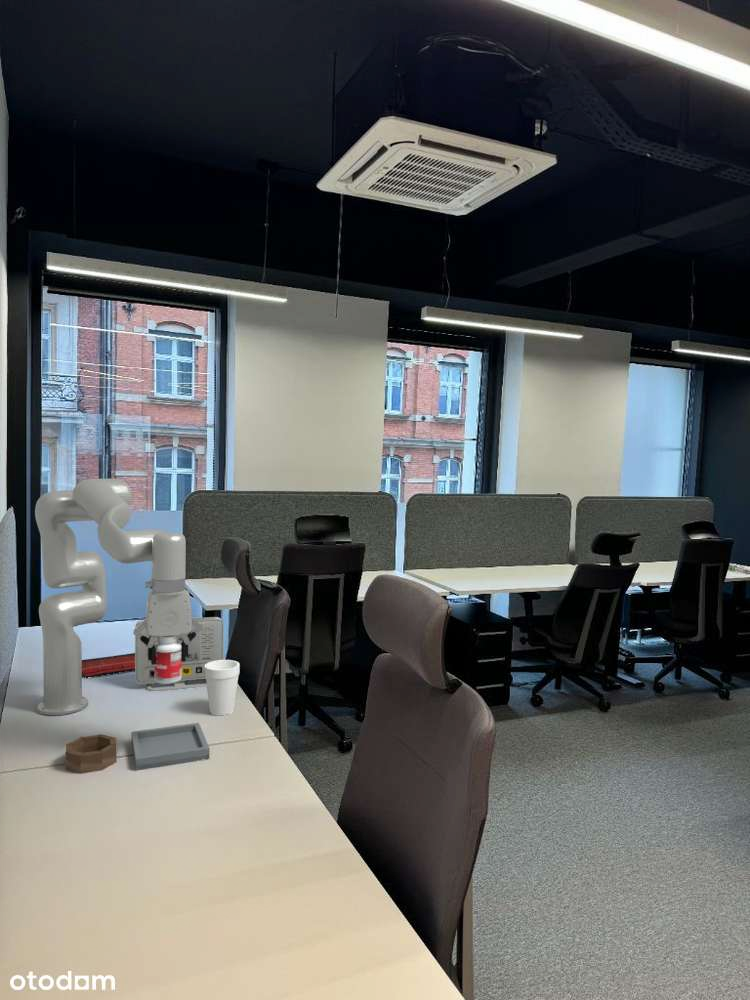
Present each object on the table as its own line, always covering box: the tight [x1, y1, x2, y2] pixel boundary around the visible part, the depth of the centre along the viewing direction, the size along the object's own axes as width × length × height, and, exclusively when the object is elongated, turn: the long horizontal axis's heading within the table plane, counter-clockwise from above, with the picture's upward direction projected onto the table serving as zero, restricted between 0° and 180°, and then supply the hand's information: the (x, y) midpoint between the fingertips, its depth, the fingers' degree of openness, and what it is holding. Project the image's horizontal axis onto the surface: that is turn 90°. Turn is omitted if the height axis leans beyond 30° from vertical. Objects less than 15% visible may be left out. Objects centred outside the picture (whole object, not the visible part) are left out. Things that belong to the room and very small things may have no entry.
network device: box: [134, 616, 224, 692], centre depth 200 cm, size 26×9×20 cm, turn 108°
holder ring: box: [65, 734, 118, 774], centre depth 149 cm, size 10×10×4 cm
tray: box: [130, 722, 211, 771], centre depth 156 cm, size 16×16×2 cm
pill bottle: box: [154, 635, 182, 685], centre depth 154 cm, size 6×6×11 cm
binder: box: [82, 652, 135, 679], centre depth 216 cm, size 16×2×21 cm
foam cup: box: [205, 659, 241, 716], centre depth 180 cm, size 10×9×13 cm
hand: (168, 660), depth 154 cm, fingers closed on pill bottle, 6 cm apart
